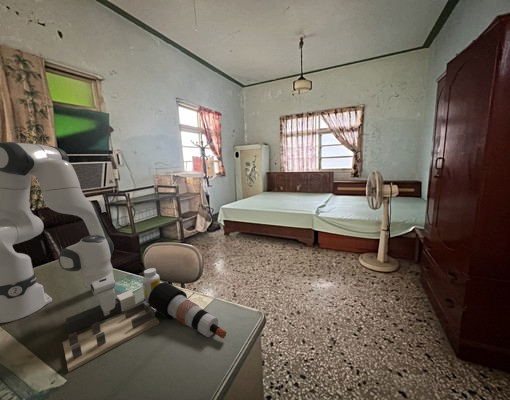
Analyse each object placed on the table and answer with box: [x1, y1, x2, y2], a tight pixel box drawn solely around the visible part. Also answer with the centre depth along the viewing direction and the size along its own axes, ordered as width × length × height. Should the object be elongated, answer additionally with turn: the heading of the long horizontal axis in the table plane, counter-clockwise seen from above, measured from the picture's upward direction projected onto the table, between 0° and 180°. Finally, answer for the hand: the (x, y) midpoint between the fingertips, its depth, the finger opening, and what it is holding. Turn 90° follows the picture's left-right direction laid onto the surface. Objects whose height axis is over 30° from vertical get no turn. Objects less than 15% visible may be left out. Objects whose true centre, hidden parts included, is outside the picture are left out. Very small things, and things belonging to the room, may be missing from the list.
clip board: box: [62, 300, 160, 373], centre depth 73 cm, size 14×25×4 cm, turn 136°
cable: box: [147, 281, 227, 339], centre depth 77 cm, size 10×34×10 cm, turn 54°
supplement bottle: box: [141, 267, 161, 303], centre depth 93 cm, size 7×7×13 cm
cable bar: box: [65, 290, 137, 335], centre depth 83 cm, size 5×21×5 cm, turn 136°
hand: (105, 311), depth 83 cm, fingers closed on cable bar, 4 cm apart
